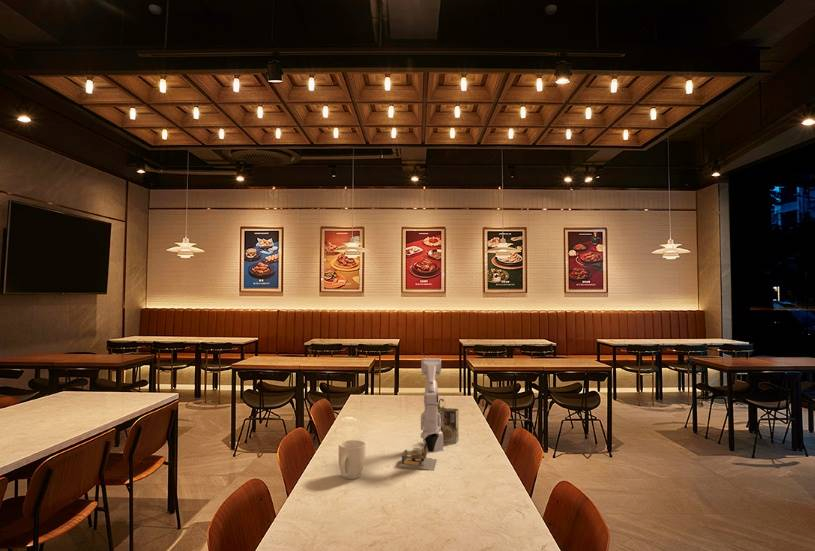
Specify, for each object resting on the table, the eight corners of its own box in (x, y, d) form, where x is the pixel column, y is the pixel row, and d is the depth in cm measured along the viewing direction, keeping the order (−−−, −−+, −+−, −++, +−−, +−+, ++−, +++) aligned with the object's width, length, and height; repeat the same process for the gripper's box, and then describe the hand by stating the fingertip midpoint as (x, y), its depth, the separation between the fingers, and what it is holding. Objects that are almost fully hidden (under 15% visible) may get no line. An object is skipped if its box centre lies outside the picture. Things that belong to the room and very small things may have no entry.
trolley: (427, 458, 200) (427, 442, 200) (425, 462, 194) (425, 446, 195) (412, 457, 201) (412, 441, 201) (410, 461, 195) (411, 445, 196)
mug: (354, 487, 172) (355, 452, 173) (328, 483, 175) (329, 449, 176) (369, 473, 186) (369, 441, 187) (345, 470, 189) (345, 438, 190)
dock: (436, 459, 203) (436, 449, 203) (433, 471, 189) (434, 460, 190) (404, 457, 205) (404, 447, 206) (399, 468, 192) (399, 458, 192)
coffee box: (458, 440, 233) (459, 408, 234) (456, 443, 227) (456, 411, 228) (442, 438, 236) (442, 407, 237) (438, 441, 230) (439, 409, 231)
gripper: (431, 415, 206) (431, 445, 205) (414, 421, 194) (414, 453, 193) (444, 417, 202) (444, 448, 201) (428, 424, 190) (428, 457, 189)
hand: (430, 451), depth 197 cm, fingers closed
